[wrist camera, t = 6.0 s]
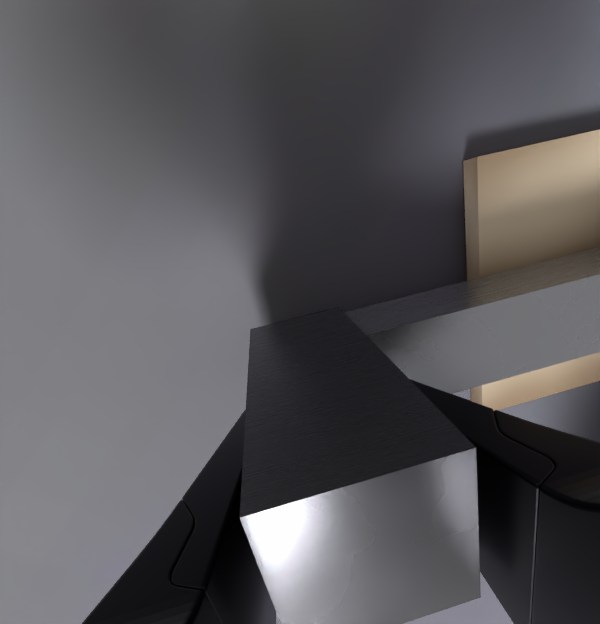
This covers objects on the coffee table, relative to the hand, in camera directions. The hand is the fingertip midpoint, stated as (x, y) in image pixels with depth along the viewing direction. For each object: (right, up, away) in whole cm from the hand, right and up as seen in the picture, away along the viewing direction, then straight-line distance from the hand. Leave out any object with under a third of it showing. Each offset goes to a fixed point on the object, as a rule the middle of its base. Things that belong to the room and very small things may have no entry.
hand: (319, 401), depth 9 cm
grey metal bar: (+9, +3, +4) cm, 10 cm away
